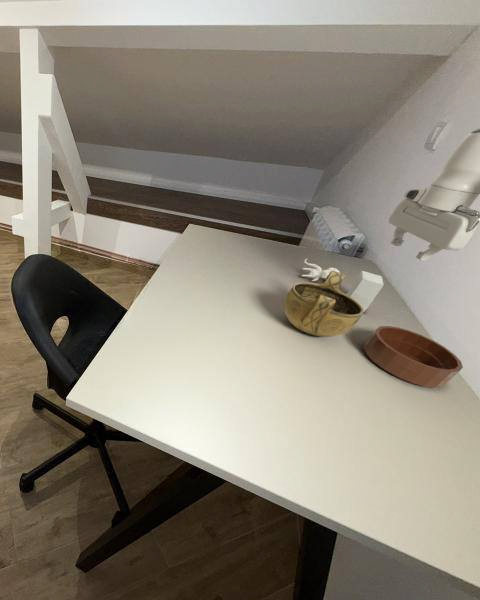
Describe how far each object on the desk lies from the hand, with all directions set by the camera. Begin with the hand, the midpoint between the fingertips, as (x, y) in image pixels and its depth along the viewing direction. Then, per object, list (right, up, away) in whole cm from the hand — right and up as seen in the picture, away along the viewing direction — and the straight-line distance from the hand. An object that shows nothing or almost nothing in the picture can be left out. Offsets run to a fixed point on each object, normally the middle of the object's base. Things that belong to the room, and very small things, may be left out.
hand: (407, 251), depth 84 cm
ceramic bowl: (-22, -21, +7) cm, 32 cm away
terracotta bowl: (-5, -30, -3) cm, 30 cm away
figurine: (+2, -5, +35) cm, 35 cm away
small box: (+4, -15, +21) cm, 26 cm away
